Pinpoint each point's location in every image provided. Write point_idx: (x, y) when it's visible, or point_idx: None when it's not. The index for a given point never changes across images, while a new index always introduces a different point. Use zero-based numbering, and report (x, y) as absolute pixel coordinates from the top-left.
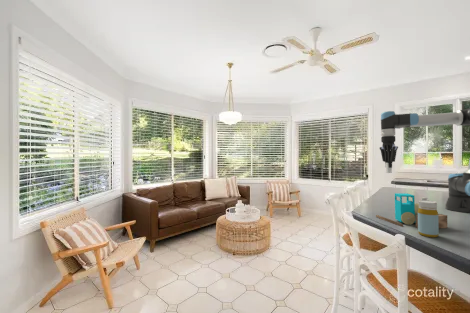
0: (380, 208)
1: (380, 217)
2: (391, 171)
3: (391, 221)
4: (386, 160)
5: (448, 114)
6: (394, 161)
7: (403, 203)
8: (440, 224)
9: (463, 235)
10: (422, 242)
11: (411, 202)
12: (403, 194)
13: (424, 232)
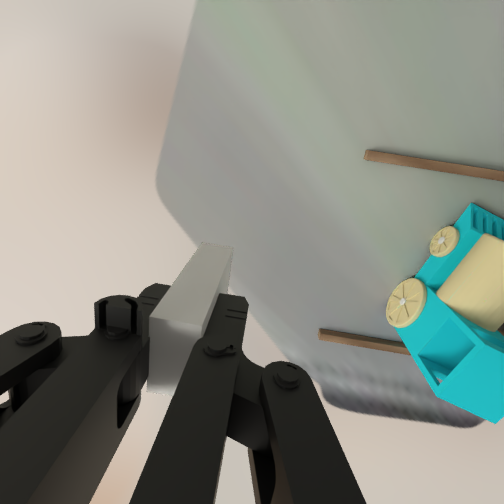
0: (194, 187)
1: (344, 342)
2: (230, 257)
3: (402, 351)
4: (128, 421)
5: None
6: (296, 367)
7: (449, 342)
8: None
9: None
10: None
11: (497, 344)
12: (490, 391)
13: None
